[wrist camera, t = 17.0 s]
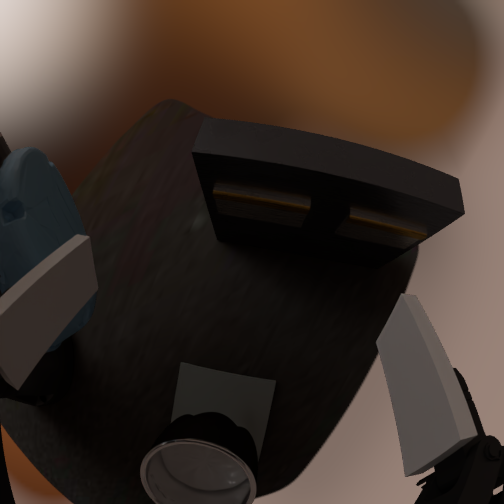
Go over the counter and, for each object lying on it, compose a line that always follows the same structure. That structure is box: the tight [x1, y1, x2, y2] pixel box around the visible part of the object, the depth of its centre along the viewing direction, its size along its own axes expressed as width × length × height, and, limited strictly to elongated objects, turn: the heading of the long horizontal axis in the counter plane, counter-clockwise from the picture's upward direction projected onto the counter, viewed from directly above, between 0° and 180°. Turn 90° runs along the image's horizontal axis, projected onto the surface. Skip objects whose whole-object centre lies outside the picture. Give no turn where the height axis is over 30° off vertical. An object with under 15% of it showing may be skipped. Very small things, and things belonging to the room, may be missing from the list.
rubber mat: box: [171, 362, 276, 461], centre depth 25 cm, size 10×10×1 cm
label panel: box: [192, 118, 465, 269], centre depth 24 cm, size 19×6×16 cm, turn 80°
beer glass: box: [140, 391, 258, 504], centre depth 18 cm, size 7×7×15 cm
